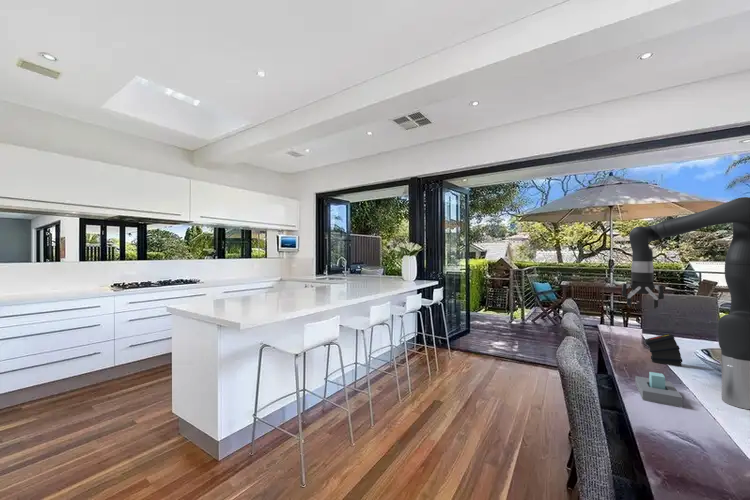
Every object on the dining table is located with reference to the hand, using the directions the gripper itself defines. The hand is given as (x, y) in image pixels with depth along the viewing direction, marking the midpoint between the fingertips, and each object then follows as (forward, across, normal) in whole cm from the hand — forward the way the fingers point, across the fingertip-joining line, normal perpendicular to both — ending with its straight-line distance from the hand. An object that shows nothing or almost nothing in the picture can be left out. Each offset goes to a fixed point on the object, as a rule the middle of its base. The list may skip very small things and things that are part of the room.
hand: (641, 307), depth 141 cm
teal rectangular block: (+31, -1, +21) cm, 37 cm away
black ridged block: (+31, -12, -25) cm, 41 cm away
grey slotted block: (+30, -1, +21) cm, 37 cm away
